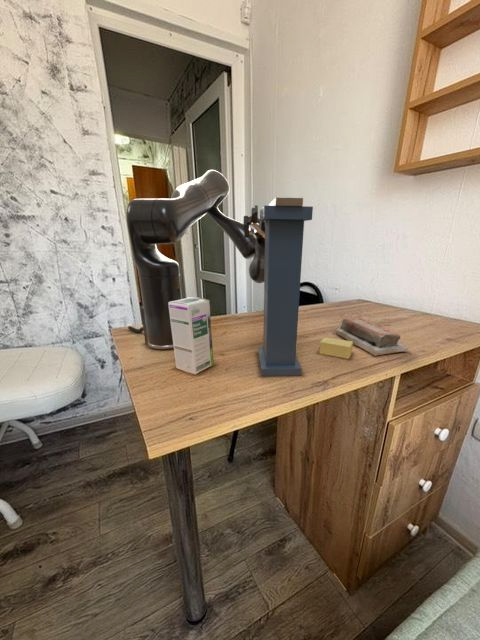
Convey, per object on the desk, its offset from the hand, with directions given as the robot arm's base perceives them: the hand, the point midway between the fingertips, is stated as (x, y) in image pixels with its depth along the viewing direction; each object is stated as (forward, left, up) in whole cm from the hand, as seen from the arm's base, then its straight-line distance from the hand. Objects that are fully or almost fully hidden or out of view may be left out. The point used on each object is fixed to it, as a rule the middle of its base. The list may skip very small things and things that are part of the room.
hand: (275, 209), depth 66 cm
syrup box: (-8, -22, -32) cm, 40 cm away
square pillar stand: (+7, -12, -32) cm, 35 cm away
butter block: (+17, 0, -32) cm, 36 cm away
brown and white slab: (+4, -8, -1) cm, 9 cm away
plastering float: (+23, +12, -32) cm, 41 cm away
